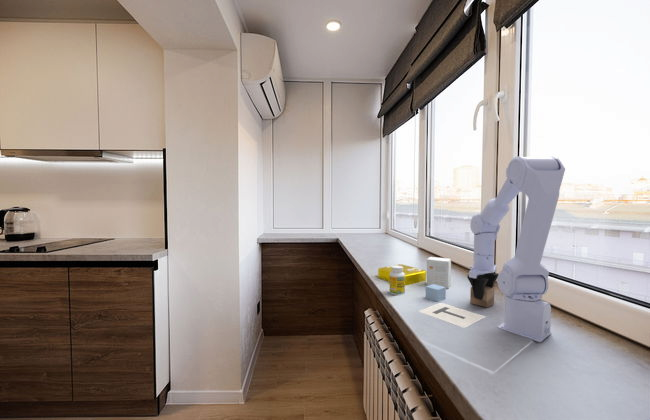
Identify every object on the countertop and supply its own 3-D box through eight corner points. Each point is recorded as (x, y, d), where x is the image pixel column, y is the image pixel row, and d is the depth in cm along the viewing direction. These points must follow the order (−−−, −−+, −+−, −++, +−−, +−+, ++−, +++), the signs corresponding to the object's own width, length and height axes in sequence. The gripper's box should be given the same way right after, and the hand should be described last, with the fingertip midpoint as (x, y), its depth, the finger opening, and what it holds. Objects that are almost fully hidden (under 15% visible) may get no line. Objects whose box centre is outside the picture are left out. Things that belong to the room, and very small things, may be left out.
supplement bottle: (396, 290, 108) (396, 264, 108) (408, 294, 104) (408, 267, 103) (386, 292, 105) (386, 266, 105) (397, 296, 101) (397, 269, 100)
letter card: (485, 317, 84) (485, 316, 83) (464, 329, 76) (464, 327, 76) (440, 303, 95) (440, 302, 95) (418, 312, 87) (418, 311, 87)
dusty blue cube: (445, 300, 98) (445, 287, 98) (437, 303, 95) (438, 289, 95) (433, 296, 101) (433, 283, 101) (425, 299, 99) (425, 286, 98)
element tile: (400, 273, 134) (400, 262, 134) (428, 281, 121) (428, 269, 121) (376, 278, 126) (376, 267, 125) (402, 287, 113) (403, 274, 113)
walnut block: (494, 304, 93) (494, 288, 92) (486, 307, 90) (487, 291, 89) (477, 299, 97) (478, 284, 96) (470, 302, 93) (470, 287, 93)
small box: (451, 285, 114) (451, 258, 113) (448, 289, 109) (449, 261, 109) (429, 282, 118) (430, 256, 118) (426, 285, 113) (426, 258, 113)
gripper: (481, 249, 100) (480, 289, 100) (459, 254, 91) (458, 298, 92) (504, 252, 94) (502, 294, 95) (483, 258, 85) (481, 304, 86)
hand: (482, 296), depth 93 cm, fingers closed on walnut block, 5 cm apart
